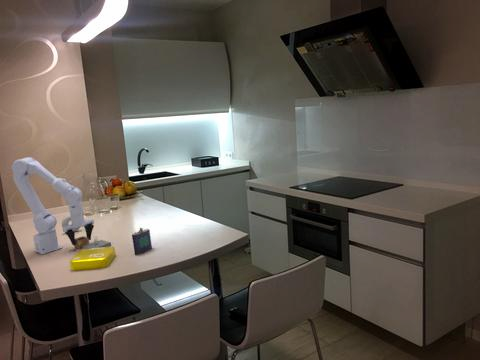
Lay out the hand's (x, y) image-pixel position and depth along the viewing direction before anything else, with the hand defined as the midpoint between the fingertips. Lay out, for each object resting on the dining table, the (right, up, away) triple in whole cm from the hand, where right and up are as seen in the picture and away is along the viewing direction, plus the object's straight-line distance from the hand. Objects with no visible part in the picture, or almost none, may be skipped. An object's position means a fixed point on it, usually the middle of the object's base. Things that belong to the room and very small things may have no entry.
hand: (81, 242), depth 192 cm
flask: (+32, -2, -13) cm, 35 cm away
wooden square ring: (0, -2, 0) cm, 2 cm away
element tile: (+14, -6, -22) cm, 26 cm away
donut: (-15, +1, +26) cm, 30 cm away
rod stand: (+8, -2, -3) cm, 9 cm away
